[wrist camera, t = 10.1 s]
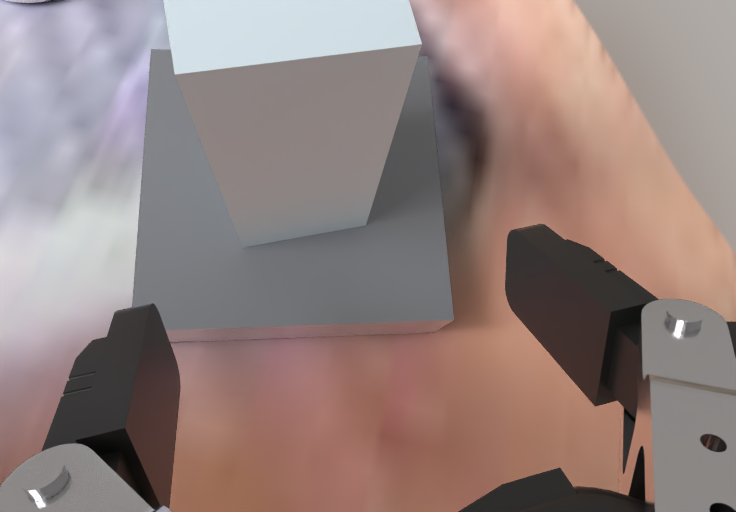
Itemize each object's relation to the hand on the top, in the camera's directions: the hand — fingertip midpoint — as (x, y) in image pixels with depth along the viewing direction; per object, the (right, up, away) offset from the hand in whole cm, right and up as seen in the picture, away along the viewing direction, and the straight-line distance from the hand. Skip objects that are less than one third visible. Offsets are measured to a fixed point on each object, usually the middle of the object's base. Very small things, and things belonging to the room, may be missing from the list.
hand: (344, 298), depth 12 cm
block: (-2, +4, +8) cm, 9 cm away
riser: (-3, +3, +11) cm, 11 cm away
